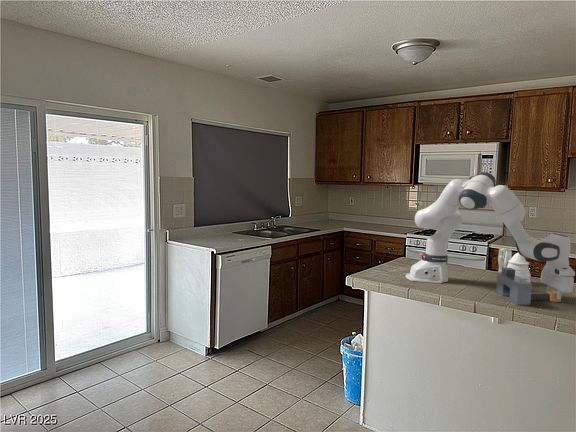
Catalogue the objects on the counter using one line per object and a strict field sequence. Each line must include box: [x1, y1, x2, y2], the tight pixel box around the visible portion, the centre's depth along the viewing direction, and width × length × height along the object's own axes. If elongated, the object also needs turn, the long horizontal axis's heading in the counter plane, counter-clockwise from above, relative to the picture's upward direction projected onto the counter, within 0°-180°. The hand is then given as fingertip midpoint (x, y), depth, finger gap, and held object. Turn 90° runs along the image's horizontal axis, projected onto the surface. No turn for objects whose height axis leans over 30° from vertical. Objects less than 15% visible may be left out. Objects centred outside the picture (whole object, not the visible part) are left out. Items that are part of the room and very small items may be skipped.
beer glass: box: [497, 248, 513, 273], centre depth 241 cm, size 7×7×15 cm
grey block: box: [495, 267, 533, 307], centre depth 194 cm, size 6×21×13 cm, turn 176°
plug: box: [531, 289, 562, 303], centre depth 193 cm, size 18×4×4 cm, turn 86°
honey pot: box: [507, 252, 532, 283], centre depth 223 cm, size 13×13×18 cm
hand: (554, 296), depth 193 cm, fingers closed on plug, 4 cm apart
